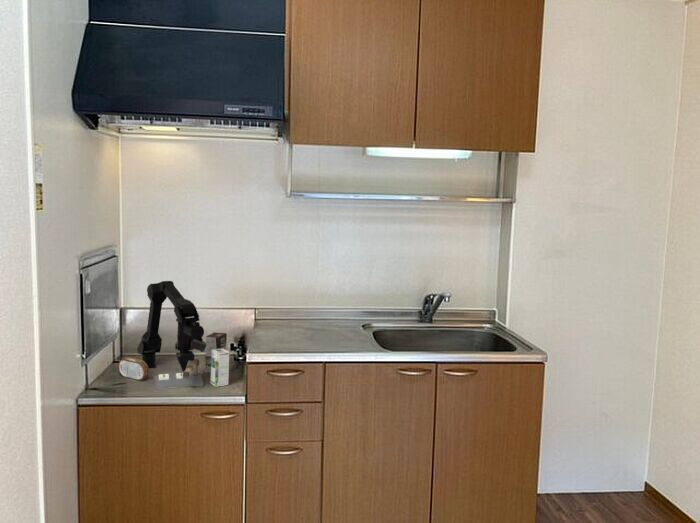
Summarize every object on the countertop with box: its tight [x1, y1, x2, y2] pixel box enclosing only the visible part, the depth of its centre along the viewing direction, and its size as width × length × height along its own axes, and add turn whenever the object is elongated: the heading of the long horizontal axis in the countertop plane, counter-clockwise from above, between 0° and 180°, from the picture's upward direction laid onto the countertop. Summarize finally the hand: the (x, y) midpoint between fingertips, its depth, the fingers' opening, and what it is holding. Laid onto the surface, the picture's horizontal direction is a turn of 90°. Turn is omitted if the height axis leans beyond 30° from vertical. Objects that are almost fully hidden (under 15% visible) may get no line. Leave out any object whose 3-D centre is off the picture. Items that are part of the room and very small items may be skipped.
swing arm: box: [182, 358, 200, 379], centre depth 229 cm, size 20×4×2 cm, turn 4°
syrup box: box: [210, 349, 230, 388], centre depth 230 cm, size 6×6×14 cm
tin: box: [118, 356, 150, 381], centre depth 233 cm, size 15×3×8 cm, turn 65°
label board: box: [154, 366, 204, 389], centre depth 231 cm, size 14×18×5 cm
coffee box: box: [204, 332, 228, 373], centre depth 249 cm, size 9×6×16 cm
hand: (183, 371), depth 227 cm, fingers closed
